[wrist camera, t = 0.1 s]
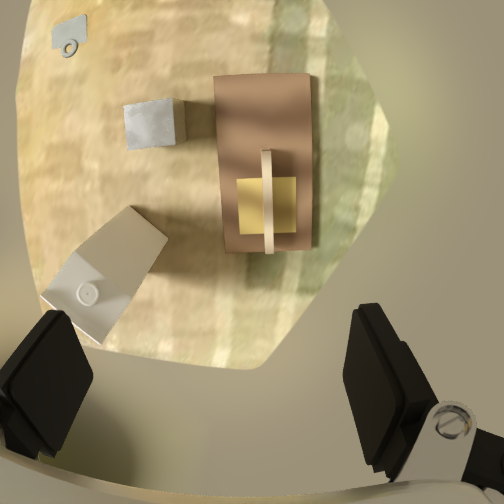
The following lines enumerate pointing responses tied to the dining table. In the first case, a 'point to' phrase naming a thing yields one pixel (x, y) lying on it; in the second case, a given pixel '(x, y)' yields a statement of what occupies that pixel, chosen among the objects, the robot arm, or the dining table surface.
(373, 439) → the robot arm
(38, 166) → the dining table surface
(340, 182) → the dining table surface
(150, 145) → the notched grey block
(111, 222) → the milk carton
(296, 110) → the rail board
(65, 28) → the mounting bracket
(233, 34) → the dining table surface
